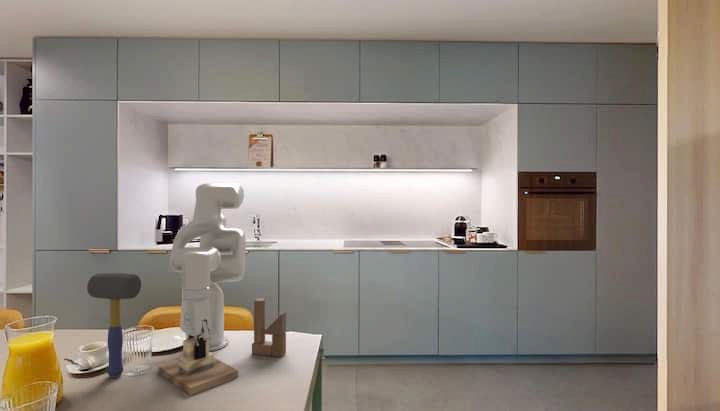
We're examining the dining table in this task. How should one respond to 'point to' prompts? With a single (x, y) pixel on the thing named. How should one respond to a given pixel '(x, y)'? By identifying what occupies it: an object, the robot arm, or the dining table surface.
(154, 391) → the dining table surface
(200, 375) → the walnut board
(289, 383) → the dining table surface
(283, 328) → the wooden block
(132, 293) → the rubber mallet
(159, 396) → the dining table surface
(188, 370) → the block
